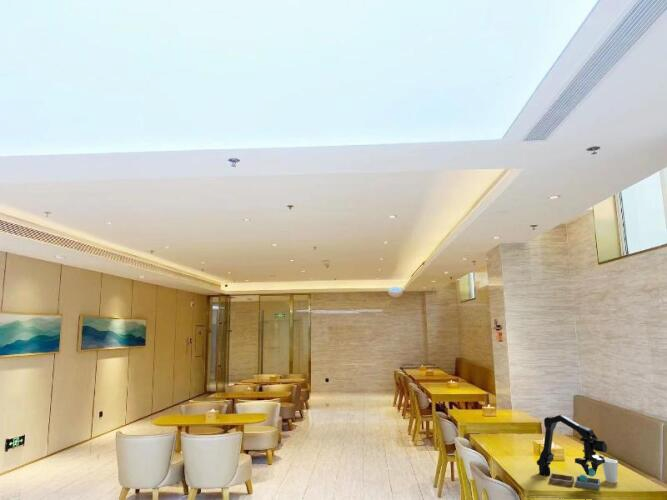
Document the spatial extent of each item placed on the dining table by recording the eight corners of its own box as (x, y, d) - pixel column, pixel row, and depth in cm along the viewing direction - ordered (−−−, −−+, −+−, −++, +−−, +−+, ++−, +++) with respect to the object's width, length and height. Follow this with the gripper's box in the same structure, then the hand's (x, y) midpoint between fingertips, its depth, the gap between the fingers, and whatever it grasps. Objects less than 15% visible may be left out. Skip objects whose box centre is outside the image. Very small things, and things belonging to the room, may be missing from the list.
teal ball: (586, 476, 296) (586, 468, 296) (587, 474, 300) (586, 466, 301) (595, 478, 293) (594, 469, 294) (595, 475, 297) (595, 467, 298)
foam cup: (614, 479, 311) (612, 458, 314) (622, 483, 302) (620, 462, 304) (600, 479, 311) (598, 458, 313) (608, 483, 302) (606, 462, 304)
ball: (579, 483, 301) (578, 474, 302) (579, 480, 306) (578, 472, 306) (587, 484, 299) (587, 476, 300) (588, 482, 303) (587, 474, 304)
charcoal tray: (575, 486, 296) (575, 481, 297) (577, 480, 308) (576, 476, 308) (599, 490, 290) (599, 485, 290) (600, 484, 301) (599, 479, 302)
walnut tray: (549, 483, 302) (549, 478, 303) (552, 478, 313) (551, 473, 314) (572, 487, 296) (572, 481, 296) (573, 481, 307) (573, 476, 307)
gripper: (586, 453, 289) (588, 479, 287) (610, 451, 294) (613, 477, 291) (573, 448, 300) (575, 474, 297) (597, 447, 304) (599, 472, 302)
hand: (591, 474), depth 297 cm, fingers closed on teal ball, 5 cm apart
